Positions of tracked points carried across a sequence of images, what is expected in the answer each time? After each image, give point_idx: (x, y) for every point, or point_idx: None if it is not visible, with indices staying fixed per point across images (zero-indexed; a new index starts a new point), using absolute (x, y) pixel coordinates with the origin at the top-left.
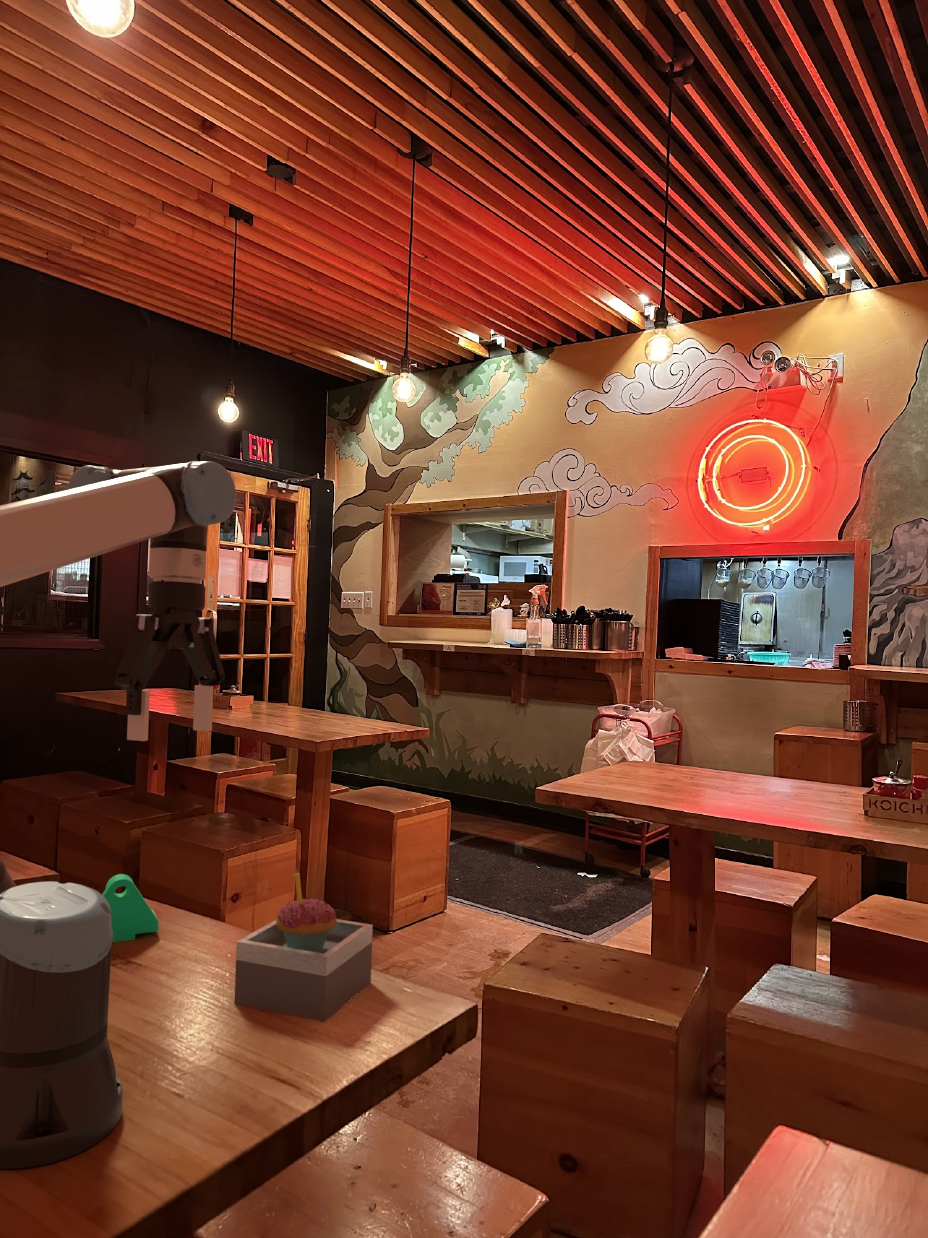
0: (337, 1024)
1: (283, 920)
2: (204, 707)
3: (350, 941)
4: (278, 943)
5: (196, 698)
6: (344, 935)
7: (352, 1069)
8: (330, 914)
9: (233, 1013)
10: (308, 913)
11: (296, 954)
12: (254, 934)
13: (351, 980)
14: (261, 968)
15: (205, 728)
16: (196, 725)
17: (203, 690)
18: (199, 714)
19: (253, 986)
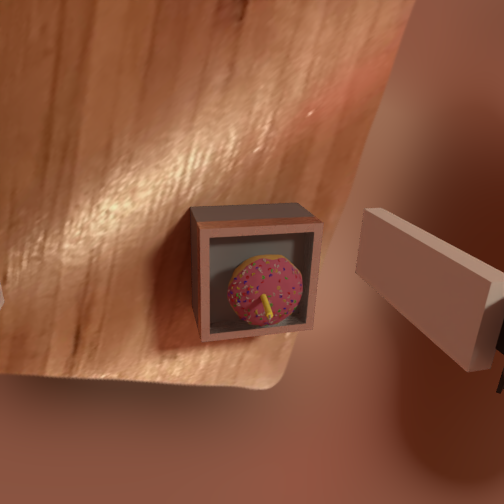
0: (193, 318)
1: (234, 284)
2: (406, 291)
3: (257, 335)
4: (263, 235)
5: (439, 266)
6: (302, 294)
7: (124, 370)
8: (267, 325)
9: (170, 219)
10: (246, 314)
11: (200, 306)
12: (231, 233)
13: None
14: (196, 254)
15: (360, 264)
16: (372, 227)
17: (461, 321)
18: (394, 255)
19: (193, 237)
